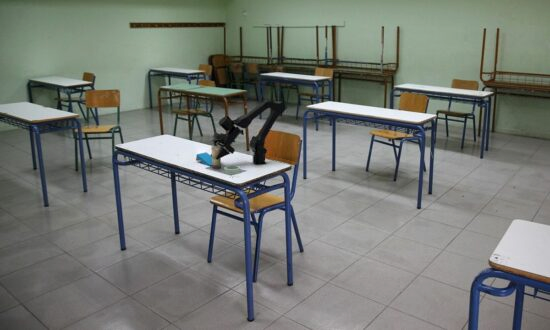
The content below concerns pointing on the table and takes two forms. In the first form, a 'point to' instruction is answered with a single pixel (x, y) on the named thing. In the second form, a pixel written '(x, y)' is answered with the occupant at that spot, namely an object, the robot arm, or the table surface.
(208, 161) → the blue long block
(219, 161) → the birch peg
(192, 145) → the table surface
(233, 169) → the thin grey base plate
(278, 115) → the robot arm
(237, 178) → the table surface
